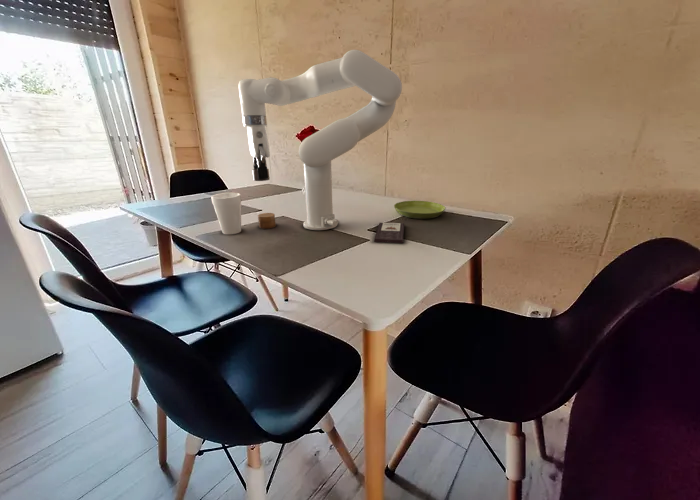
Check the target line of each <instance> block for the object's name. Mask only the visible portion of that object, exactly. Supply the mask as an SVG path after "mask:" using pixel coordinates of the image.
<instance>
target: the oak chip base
mask: <svg viewBox="0 0 700 500" xmlns="http://www.w3.org/2000/svg"><path fill="white" fill-rule="evenodd" d="M258 227H259V229H264V230H268V229H273V228H275V227H277V225H276V220H275V221H273V222H270V223H260V222H259V221H258Z"/></svg>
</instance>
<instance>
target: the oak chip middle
mask: <svg viewBox="0 0 700 500" xmlns="http://www.w3.org/2000/svg"><path fill="white" fill-rule="evenodd" d="M257 221H258V223H259V222H260V223H270V222H273V221H275V222H276V214H275V213H273V212H263V213H259V214H258V215H257Z"/></svg>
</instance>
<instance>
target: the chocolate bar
mask: <svg viewBox="0 0 700 500" xmlns="http://www.w3.org/2000/svg"><path fill="white" fill-rule="evenodd" d="M404 232H405V222H404V223H402V222H401V223H400V222H399V223H398V222H378V227H377V229H376V232H375V236H374V238H373V241H374V243H387V244H388V243H390V244H404Z"/></svg>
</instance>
